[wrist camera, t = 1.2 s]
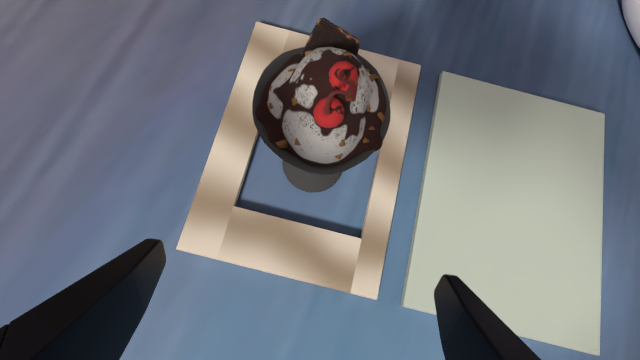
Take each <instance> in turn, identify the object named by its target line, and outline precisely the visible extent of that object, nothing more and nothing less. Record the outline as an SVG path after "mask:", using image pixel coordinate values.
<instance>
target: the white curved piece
mask: <svg viewBox="0 0 640 360" xmlns="http://www.w3.org/2000/svg"><path fill="white" fill-rule="evenodd" d="M621 1H622V10H623V15H624V19H625V21H626V24H627V27H628V29H629V31H630V33H631V35H632V37H633V39H634V41H635V42H636V44H637V45H638V47H639V48H640V0H621Z"/></svg>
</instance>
